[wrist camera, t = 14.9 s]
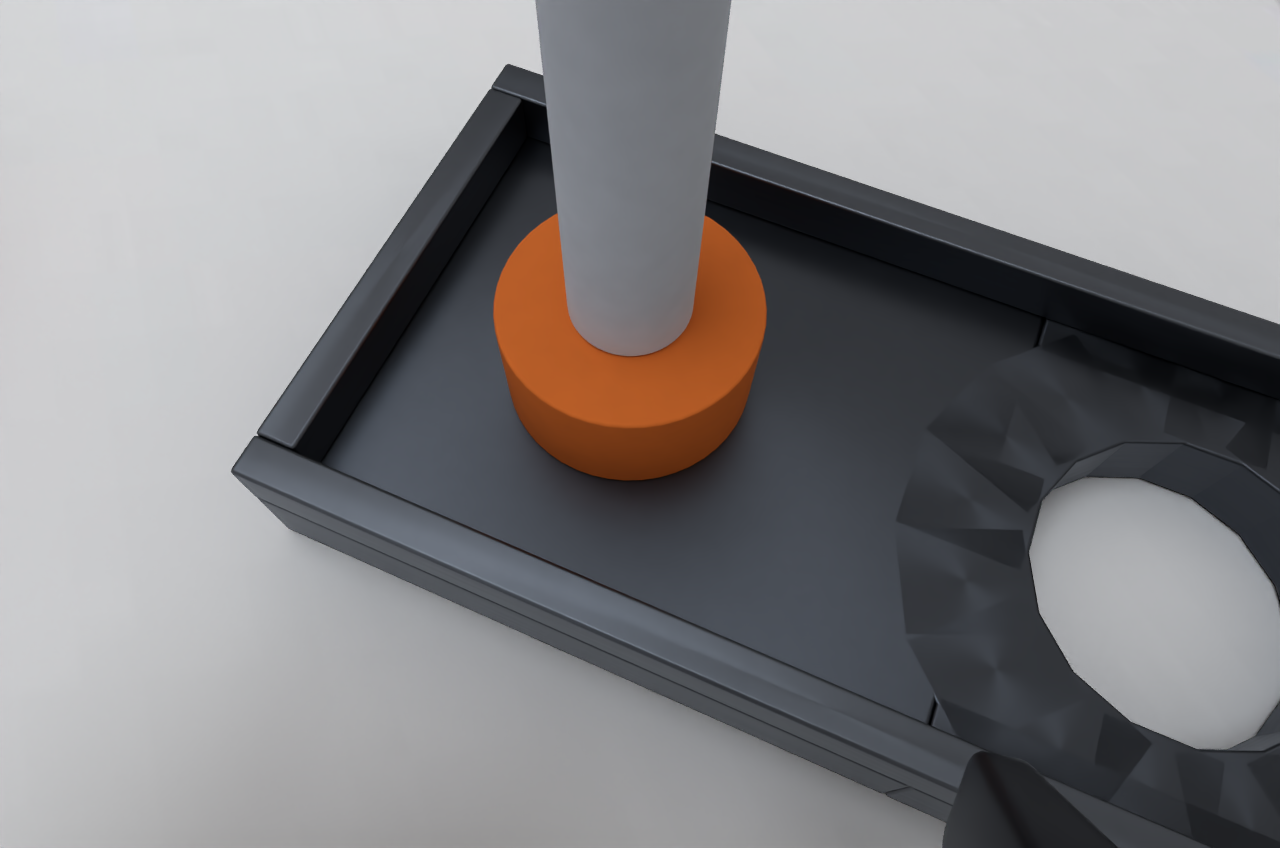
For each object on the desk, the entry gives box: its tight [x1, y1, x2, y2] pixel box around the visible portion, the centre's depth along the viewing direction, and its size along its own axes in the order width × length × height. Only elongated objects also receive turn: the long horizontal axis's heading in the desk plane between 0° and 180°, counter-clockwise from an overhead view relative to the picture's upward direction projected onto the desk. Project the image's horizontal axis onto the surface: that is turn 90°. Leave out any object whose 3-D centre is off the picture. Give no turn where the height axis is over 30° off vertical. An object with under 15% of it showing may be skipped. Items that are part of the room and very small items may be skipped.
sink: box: [257, 136, 1280, 848], centre depth 18 cm, size 22×11×2 cm, turn 67°
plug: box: [493, 0, 767, 481], centre depth 13 cm, size 5×5×12 cm
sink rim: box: [231, 64, 1280, 848], centre depth 17 cm, size 22×11×1 cm, turn 67°
